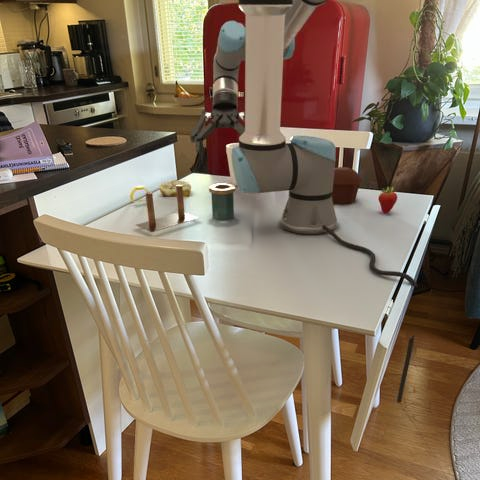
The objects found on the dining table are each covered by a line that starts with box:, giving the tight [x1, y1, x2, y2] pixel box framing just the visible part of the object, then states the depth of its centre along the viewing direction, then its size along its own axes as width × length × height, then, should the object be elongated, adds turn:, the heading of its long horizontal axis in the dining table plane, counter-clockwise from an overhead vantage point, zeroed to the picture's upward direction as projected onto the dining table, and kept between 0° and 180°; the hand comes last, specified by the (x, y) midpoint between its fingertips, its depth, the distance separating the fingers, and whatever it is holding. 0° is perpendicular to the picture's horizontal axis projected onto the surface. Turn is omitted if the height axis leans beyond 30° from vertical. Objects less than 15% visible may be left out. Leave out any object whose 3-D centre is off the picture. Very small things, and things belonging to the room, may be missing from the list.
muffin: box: [332, 166, 363, 206], centre depth 150 cm, size 12×11×10 cm
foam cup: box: [225, 142, 239, 187], centre depth 169 cm, size 10×9×13 cm
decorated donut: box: [159, 180, 192, 198], centre depth 161 cm, size 10×11×4 cm
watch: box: [130, 184, 149, 203], centre depth 150 cm, size 6×3×6 cm, turn 119°
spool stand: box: [135, 185, 199, 233], centre depth 132 cm, size 16×8×10 cm, turn 133°
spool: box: [208, 182, 237, 221], centre depth 135 cm, size 7×7×10 cm
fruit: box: [377, 186, 398, 214], centre depth 139 cm, size 5×5×8 cm
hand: (224, 161), depth 138 cm, fingers open, 13 cm apart
